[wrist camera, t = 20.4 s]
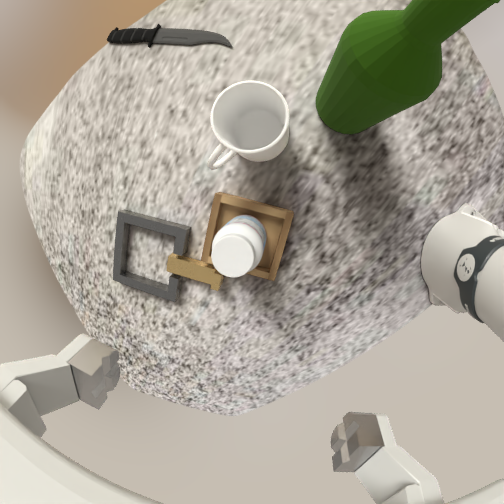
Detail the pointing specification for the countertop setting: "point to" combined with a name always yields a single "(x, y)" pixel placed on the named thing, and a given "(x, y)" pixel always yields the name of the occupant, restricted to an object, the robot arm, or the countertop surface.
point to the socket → (121, 247)
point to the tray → (268, 215)
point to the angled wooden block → (195, 270)
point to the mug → (249, 122)
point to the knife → (165, 36)
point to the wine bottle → (389, 61)
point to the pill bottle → (238, 246)
